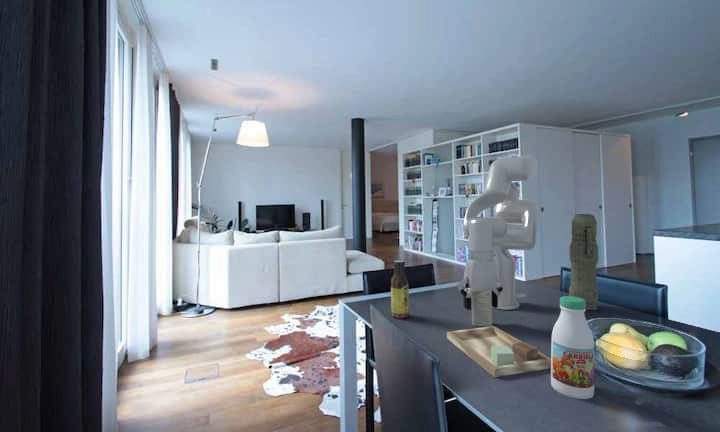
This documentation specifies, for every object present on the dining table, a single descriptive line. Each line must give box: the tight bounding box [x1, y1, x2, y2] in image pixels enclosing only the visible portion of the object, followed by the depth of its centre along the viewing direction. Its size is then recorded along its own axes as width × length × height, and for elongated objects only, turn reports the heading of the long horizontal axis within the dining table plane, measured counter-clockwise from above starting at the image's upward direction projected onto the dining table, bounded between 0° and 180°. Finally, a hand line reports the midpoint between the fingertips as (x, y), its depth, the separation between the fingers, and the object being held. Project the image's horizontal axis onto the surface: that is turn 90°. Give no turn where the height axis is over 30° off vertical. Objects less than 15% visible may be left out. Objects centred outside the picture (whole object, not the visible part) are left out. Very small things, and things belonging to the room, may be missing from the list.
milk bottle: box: [550, 295, 595, 400], centre depth 69 cm, size 8×8×20 cm
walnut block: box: [512, 341, 539, 363], centre depth 80 cm, size 4×4×4 cm
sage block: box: [491, 346, 514, 366], centre depth 79 cm, size 4×4×4 cm
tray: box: [446, 325, 551, 378], centre depth 86 cm, size 16×22×2 cm
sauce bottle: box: [390, 259, 410, 319], centre depth 116 cm, size 6×6×20 cm
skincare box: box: [471, 290, 493, 327], centre depth 107 cm, size 6×4×12 cm
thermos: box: [568, 213, 599, 311], centre depth 121 cm, size 9×12×35 cm
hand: (480, 307), depth 106 cm, fingers open, 9 cm apart
